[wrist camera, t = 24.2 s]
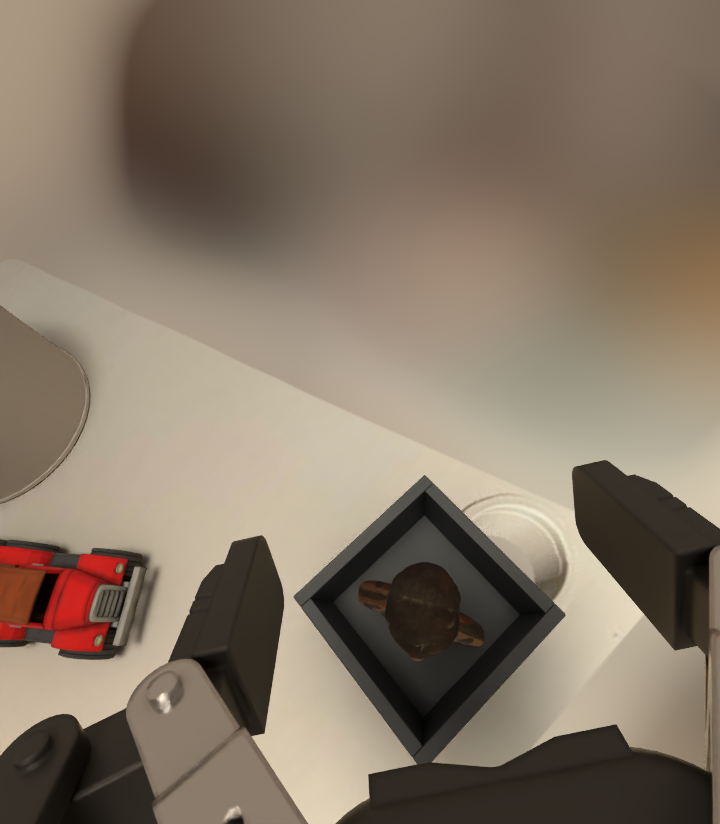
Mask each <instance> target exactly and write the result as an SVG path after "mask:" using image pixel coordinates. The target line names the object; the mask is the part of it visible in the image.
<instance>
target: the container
mask: <svg viewBox="0 0 720 824" xmlns="http://www.w3.org/2000/svg"><path fill="white" fill-rule="evenodd" d="M89 396H90V395H89V384H88V380H87V377H86V374H85V372H84V370H83V368H82V367H81V365H80V364H79V363H78V362H77V360H76V359H74V358H73V357H72V356H71V355H69V354H68V353H67V352H65V351H63V350H61V349H59V348H57V347H56V346H55V345H53V344H52V343H51V342H49V341H48V340H47V339H45V338H44V337H42V336H41V335H40V334H38V333H37V332H36V331H34V330H33V329H32V328H30V327H29V326H28V325H26V324H25V323H24V322H22V321H21V320H19V319H18V318H17V317H15V316H14V315H13V314H11V313H10V312H9V311H7V310H6V309H5V308H3V307H2V306H0V503H3V502H6V501H8V500H10V499H13V498H15V497H17V496H19V495H21V494H23V493H25V492H26V491H28V490H30V489H31V488H33V487H34V486H36V485H37V484H38V483H40V482H41V481H42V480H43V479H45V478H46V477H47V476H48V475H49V474H50V473H51V472H52V471H53V470H54V469H55V468H56V467H57V466H58V465H59V464H60V463H61V462H62V461H63V460H64V458H65V457H66V456H67V454H68V453H69V452H70V450H71V449H72V447H73V446H74V444H75V442H76V441H77V439H78V437H79V435H80V433H81V431H82V428H83V426H84V423H85V420H86V417H87V413H88V408H89Z"/></svg>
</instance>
